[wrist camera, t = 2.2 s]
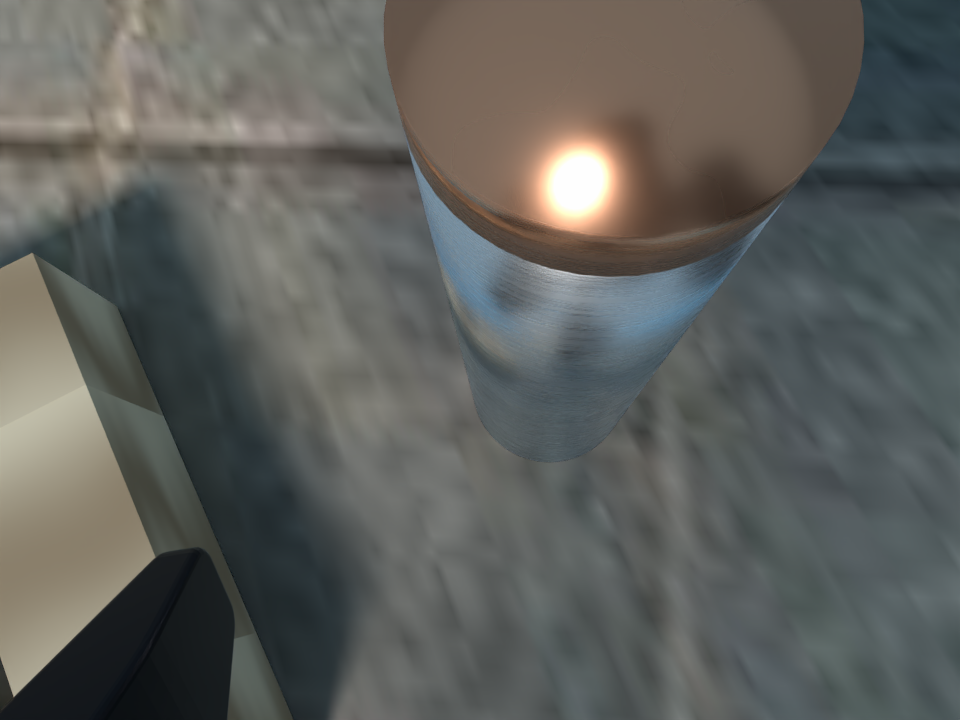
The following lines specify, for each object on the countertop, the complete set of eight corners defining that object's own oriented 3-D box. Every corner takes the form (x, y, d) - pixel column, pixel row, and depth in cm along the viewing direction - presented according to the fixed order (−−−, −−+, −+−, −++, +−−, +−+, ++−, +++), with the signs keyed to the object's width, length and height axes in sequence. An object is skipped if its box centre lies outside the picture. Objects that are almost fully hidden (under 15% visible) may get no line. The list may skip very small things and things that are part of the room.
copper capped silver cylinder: (652, 416, 18) (966, 94, 6) (518, 490, 18) (526, 324, 5) (576, 290, 19) (696, -238, 6) (447, 357, 19) (307, -56, 6)
